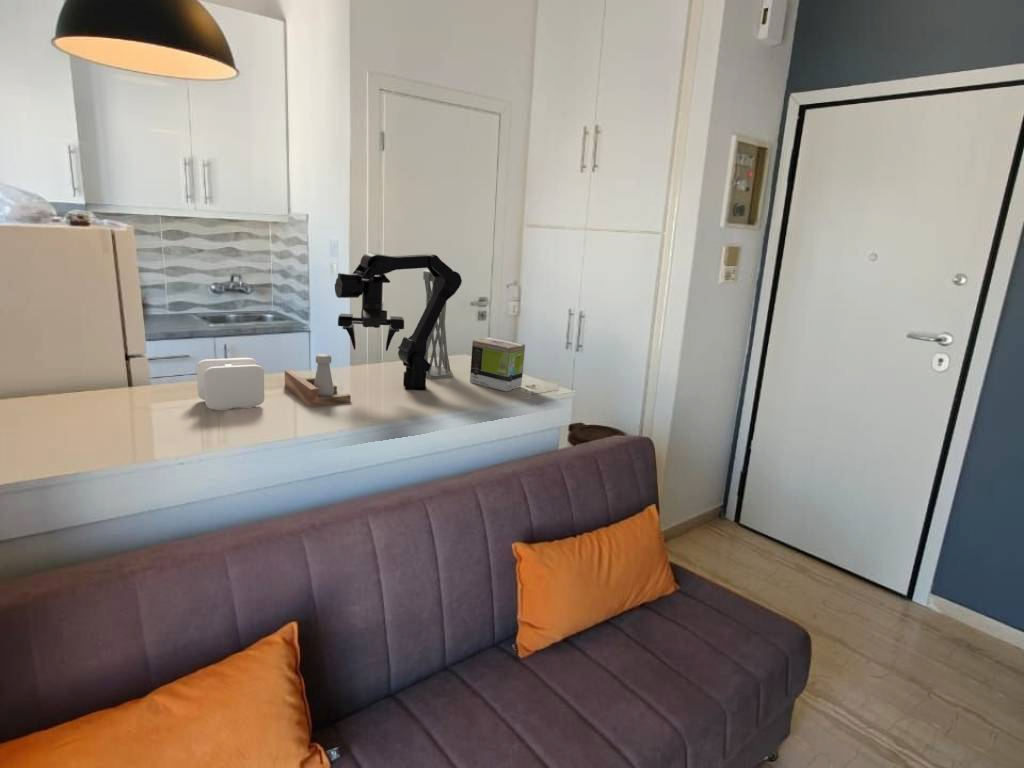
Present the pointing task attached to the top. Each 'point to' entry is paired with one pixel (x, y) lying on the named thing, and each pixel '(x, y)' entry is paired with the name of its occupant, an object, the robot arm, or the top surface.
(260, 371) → the cable organizer
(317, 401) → the wooden letter e
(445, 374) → the grey lattice tower
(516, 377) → the tea box
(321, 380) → the salt shaker
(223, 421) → the top surface
